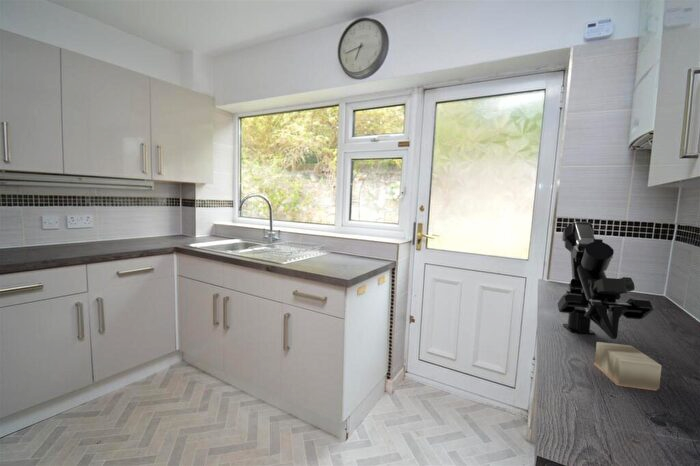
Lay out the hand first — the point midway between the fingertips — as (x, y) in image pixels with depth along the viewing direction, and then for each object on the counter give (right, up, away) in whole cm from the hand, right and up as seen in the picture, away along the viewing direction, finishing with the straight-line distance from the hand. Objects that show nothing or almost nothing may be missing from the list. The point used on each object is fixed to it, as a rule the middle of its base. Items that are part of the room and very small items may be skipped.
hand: (614, 338), depth 75 cm
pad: (-2, -7, -5) cm, 8 cm away
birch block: (0, -4, 0) cm, 4 cm away
